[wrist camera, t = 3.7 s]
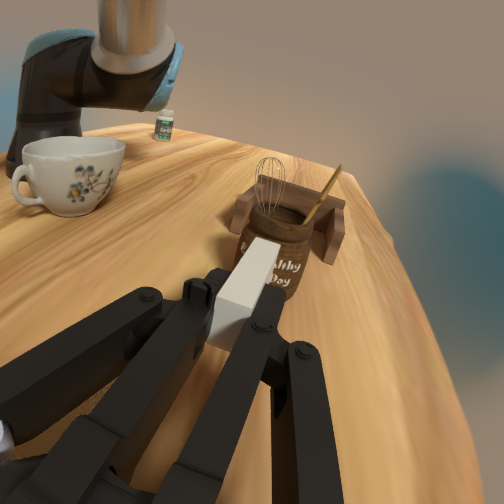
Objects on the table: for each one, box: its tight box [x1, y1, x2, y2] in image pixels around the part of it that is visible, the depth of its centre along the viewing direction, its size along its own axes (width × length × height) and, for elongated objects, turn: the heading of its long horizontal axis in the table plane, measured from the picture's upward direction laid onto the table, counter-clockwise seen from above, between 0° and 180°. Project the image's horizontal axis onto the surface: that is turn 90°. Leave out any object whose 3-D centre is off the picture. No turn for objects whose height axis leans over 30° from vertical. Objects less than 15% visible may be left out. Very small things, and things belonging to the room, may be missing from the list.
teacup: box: [12, 136, 125, 217], centre depth 30 cm, size 15×12×8 cm
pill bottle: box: [154, 110, 174, 141], centre depth 77 cm, size 5×5×8 cm
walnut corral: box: [230, 174, 345, 265], centre depth 39 cm, size 11×12×5 cm
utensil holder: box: [232, 157, 343, 301], centre depth 25 cm, size 6×6×12 cm
